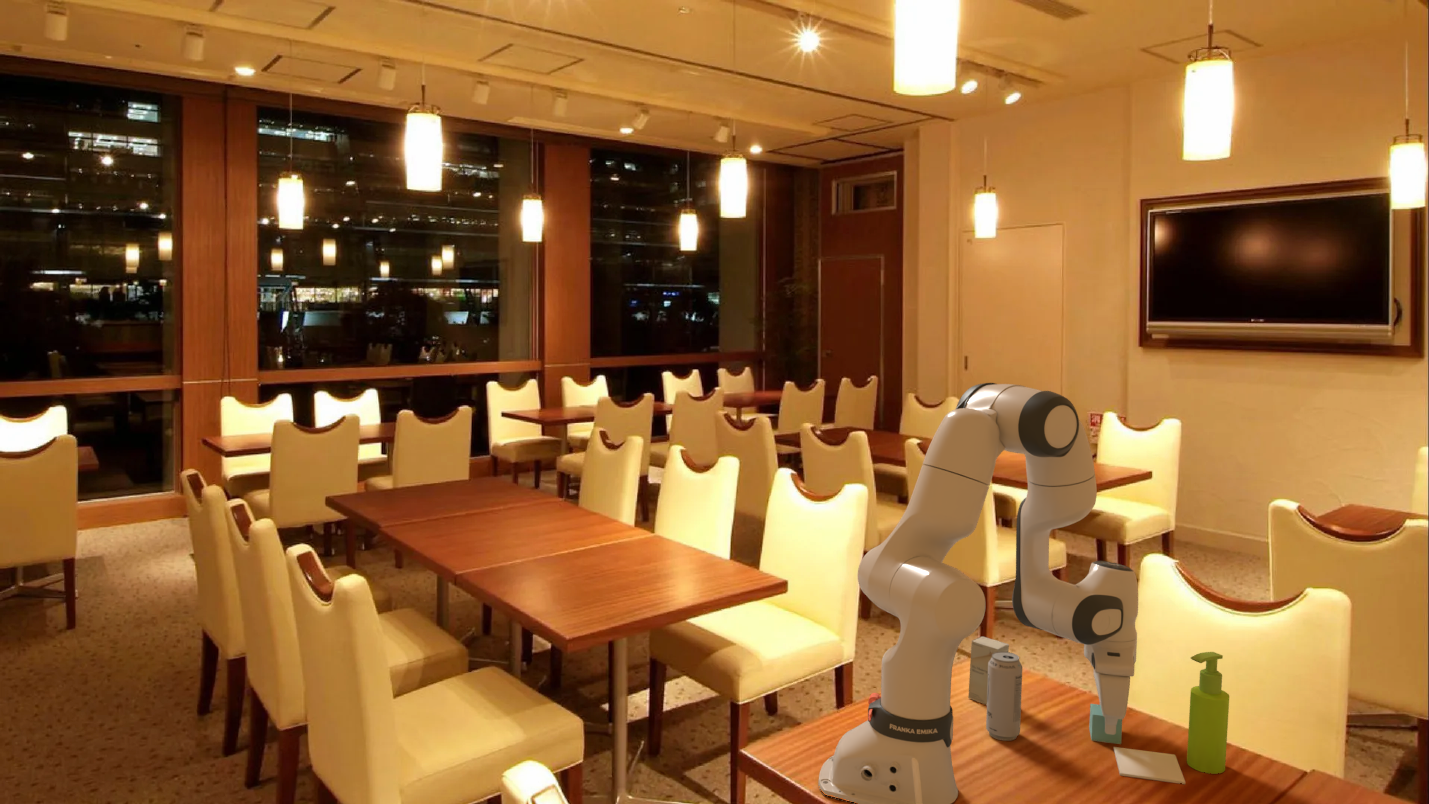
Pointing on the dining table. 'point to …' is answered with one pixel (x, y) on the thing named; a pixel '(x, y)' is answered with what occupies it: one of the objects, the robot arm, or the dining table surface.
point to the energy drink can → (1004, 696)
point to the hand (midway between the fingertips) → (1107, 721)
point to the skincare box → (982, 666)
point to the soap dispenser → (1208, 718)
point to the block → (1102, 727)
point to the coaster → (1148, 765)
